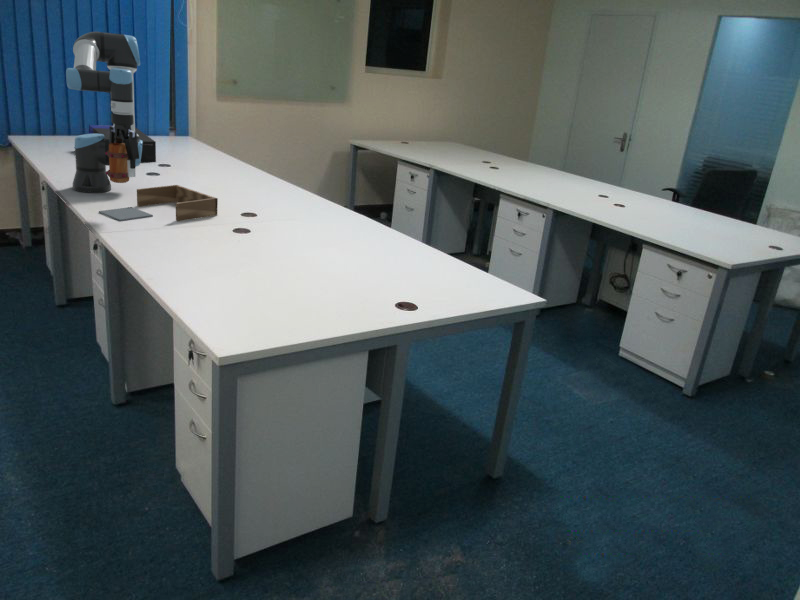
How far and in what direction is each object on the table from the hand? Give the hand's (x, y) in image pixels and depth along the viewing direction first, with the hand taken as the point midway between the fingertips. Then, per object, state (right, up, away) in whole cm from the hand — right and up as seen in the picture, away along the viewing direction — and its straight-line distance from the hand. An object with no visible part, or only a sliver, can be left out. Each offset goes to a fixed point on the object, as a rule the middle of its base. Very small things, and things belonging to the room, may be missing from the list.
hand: (124, 174), depth 245 cm
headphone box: (-48, +31, +109) cm, 123 cm away
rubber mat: (-2, -14, +6) cm, 16 cm away
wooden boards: (+13, -11, +19) cm, 26 cm away
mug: (-1, -2, +1) cm, 3 cm away
